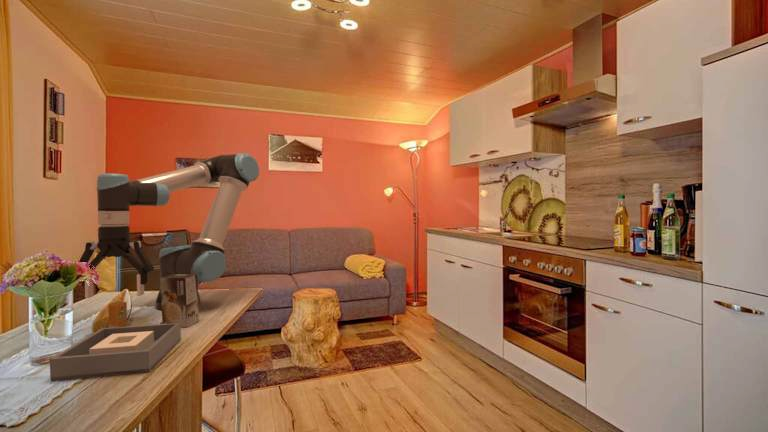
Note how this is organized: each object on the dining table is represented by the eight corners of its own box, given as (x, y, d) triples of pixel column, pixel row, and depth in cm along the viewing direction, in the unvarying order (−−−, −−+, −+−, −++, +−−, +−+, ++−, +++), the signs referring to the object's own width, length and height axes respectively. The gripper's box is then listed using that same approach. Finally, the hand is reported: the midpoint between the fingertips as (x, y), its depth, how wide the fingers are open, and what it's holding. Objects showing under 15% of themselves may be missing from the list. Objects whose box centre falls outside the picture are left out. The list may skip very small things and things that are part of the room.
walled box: (102, 345, 98) (102, 328, 98) (180, 339, 102) (180, 322, 102) (50, 381, 79) (49, 359, 79) (149, 372, 83) (148, 351, 83)
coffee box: (200, 320, 119) (198, 273, 118) (187, 327, 112) (186, 277, 112) (174, 320, 120) (173, 273, 119) (160, 326, 113) (159, 277, 113)
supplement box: (117, 337, 104) (116, 304, 104) (108, 336, 105) (107, 303, 105) (128, 333, 108) (126, 301, 107) (118, 332, 108) (117, 300, 108)
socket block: (112, 348, 95) (112, 333, 94) (154, 345, 97) (153, 330, 96) (89, 365, 85) (89, 349, 85) (136, 361, 87) (135, 345, 87)
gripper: (56, 226, 99) (58, 301, 99) (154, 225, 104) (156, 297, 104) (74, 225, 106) (75, 295, 107) (165, 224, 111) (166, 291, 112)
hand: (115, 296), depth 106 cm, fingers open, 13 cm apart
